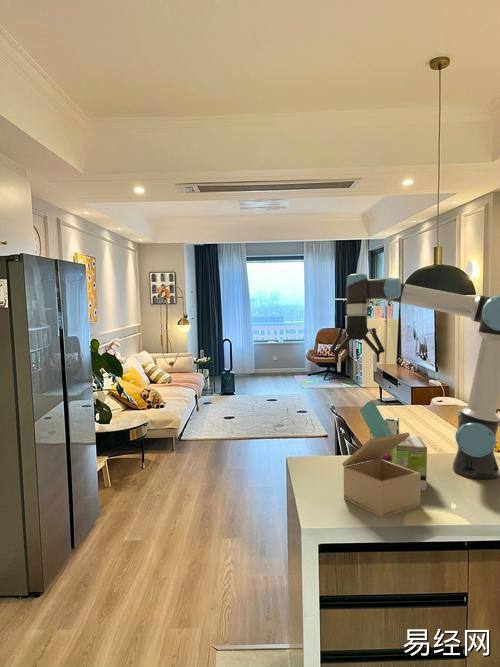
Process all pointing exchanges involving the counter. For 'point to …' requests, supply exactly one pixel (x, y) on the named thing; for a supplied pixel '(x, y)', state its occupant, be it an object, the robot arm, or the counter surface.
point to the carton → (382, 487)
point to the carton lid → (375, 437)
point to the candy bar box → (394, 429)
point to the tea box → (412, 457)
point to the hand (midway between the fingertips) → (356, 371)
